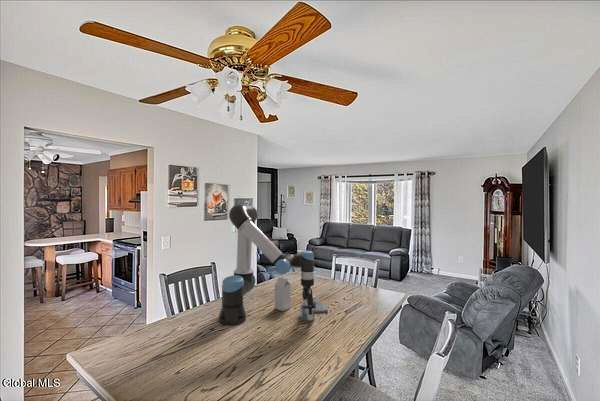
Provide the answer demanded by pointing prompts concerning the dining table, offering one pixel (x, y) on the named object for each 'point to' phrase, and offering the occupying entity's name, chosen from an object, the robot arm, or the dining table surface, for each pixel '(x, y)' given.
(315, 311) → the shaft stand
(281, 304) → the milk carton
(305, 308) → the grey square sleeve
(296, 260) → the robot arm
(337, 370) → the dining table surface
